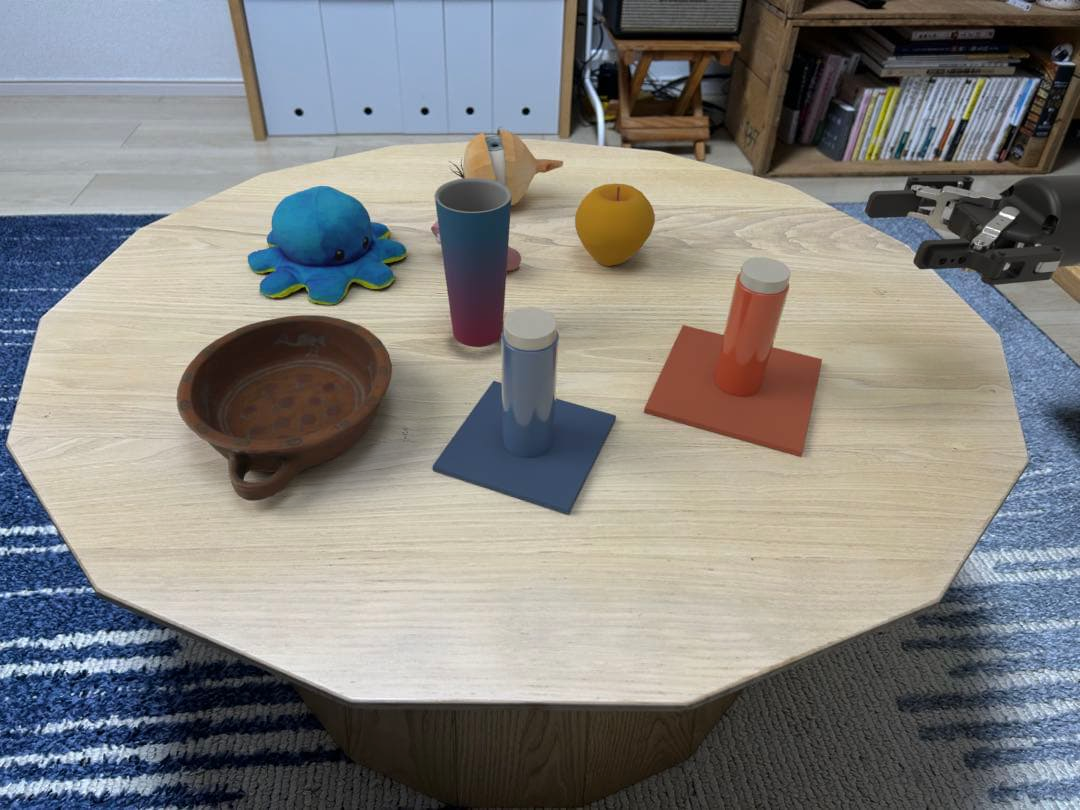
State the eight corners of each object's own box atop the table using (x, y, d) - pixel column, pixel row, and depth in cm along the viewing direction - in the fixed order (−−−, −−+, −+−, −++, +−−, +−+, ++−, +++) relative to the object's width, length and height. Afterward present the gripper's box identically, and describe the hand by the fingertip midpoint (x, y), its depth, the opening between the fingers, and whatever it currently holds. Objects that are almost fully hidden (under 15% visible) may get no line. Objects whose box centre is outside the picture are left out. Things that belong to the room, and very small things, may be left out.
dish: (408, 342, 76) (404, 299, 73) (381, 512, 60) (374, 467, 56) (230, 341, 76) (217, 299, 72) (153, 513, 59) (132, 468, 56)
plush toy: (286, 220, 94) (272, 154, 89) (421, 233, 92) (415, 168, 87) (224, 294, 82) (204, 223, 76) (379, 311, 80) (369, 240, 75)
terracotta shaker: (771, 384, 72) (804, 272, 64) (739, 403, 70) (769, 289, 62) (735, 361, 74) (762, 250, 66) (704, 378, 72) (728, 265, 64)
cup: (457, 358, 74) (449, 218, 65) (435, 320, 79) (424, 184, 69) (521, 342, 77) (523, 204, 67) (496, 306, 81) (494, 172, 71)
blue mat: (615, 420, 68) (616, 415, 68) (568, 515, 60) (569, 510, 60) (493, 385, 72) (493, 380, 71) (432, 470, 63) (432, 465, 63)
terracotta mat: (820, 363, 75) (822, 359, 75) (800, 456, 66) (802, 451, 65) (681, 329, 79) (682, 324, 79) (643, 412, 69) (644, 407, 69)
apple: (653, 282, 86) (663, 208, 80) (573, 279, 86) (577, 206, 80) (646, 242, 92) (655, 171, 86) (572, 239, 92) (576, 168, 86)
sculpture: (431, 130, 96) (548, 97, 95) (452, 191, 103) (560, 161, 102) (439, 174, 90) (562, 139, 89) (460, 234, 97) (575, 203, 96)
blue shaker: (561, 430, 66) (568, 313, 58) (542, 463, 63) (546, 345, 55) (514, 416, 68) (515, 300, 60) (493, 448, 64) (491, 331, 56)
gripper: (1039, 144, 68) (867, 149, 66) (1158, 220, 57) (957, 229, 55) (1003, 221, 72) (841, 228, 71) (1107, 305, 62) (920, 316, 60)
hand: (892, 228), depth 63 cm, fingers open, 8 cm apart
